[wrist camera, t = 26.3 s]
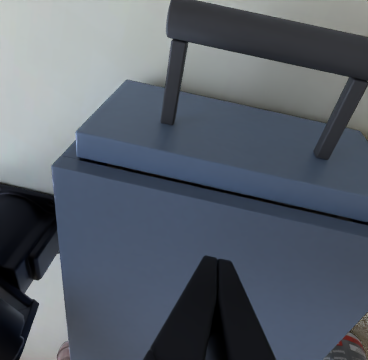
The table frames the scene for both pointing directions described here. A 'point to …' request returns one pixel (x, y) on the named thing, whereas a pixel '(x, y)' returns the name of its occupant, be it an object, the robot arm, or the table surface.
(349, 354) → the pill bottle
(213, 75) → the table surface
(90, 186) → the cabinet
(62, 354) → the textured ball on stand
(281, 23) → the drawer
